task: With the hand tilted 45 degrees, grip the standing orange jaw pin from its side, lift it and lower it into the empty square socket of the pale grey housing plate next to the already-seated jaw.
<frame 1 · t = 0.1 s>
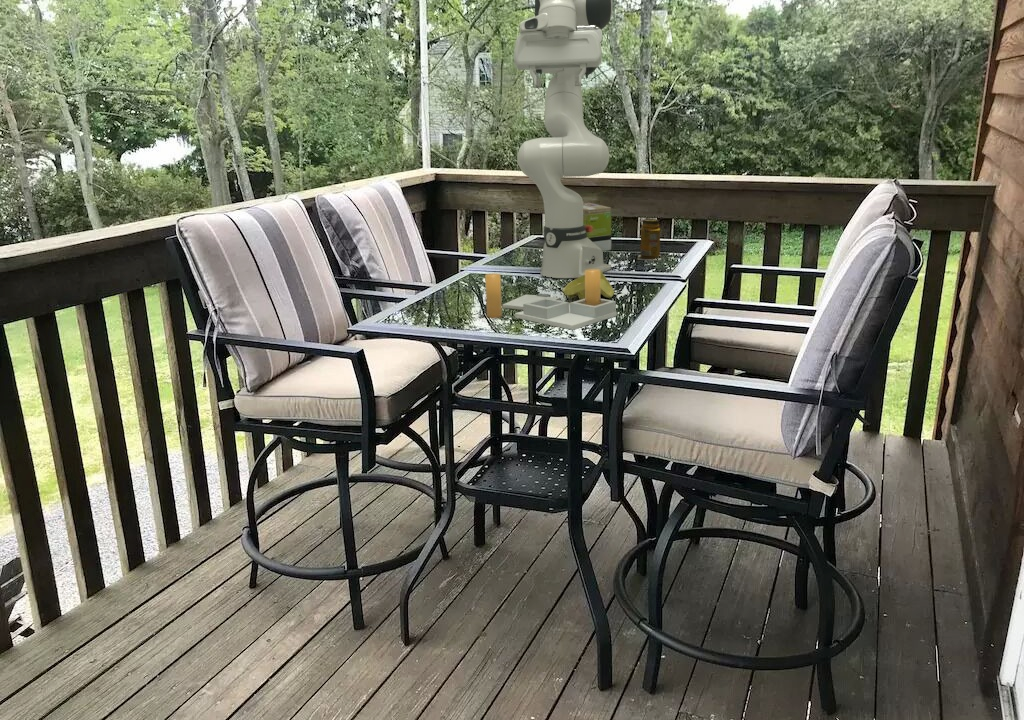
hand: (557, 86, 189), 52 cm above the table, tool tilted 20°, fingers open, 8 cm apart
tea box: (588, 249, 280), on the table
plastic component: (586, 300, 210), on the table
lid: (531, 304, 206), on the table
condiment: (649, 258, 260), on the table
jaw pin: (494, 315, 196), on the table
housing: (565, 316, 193), on the table
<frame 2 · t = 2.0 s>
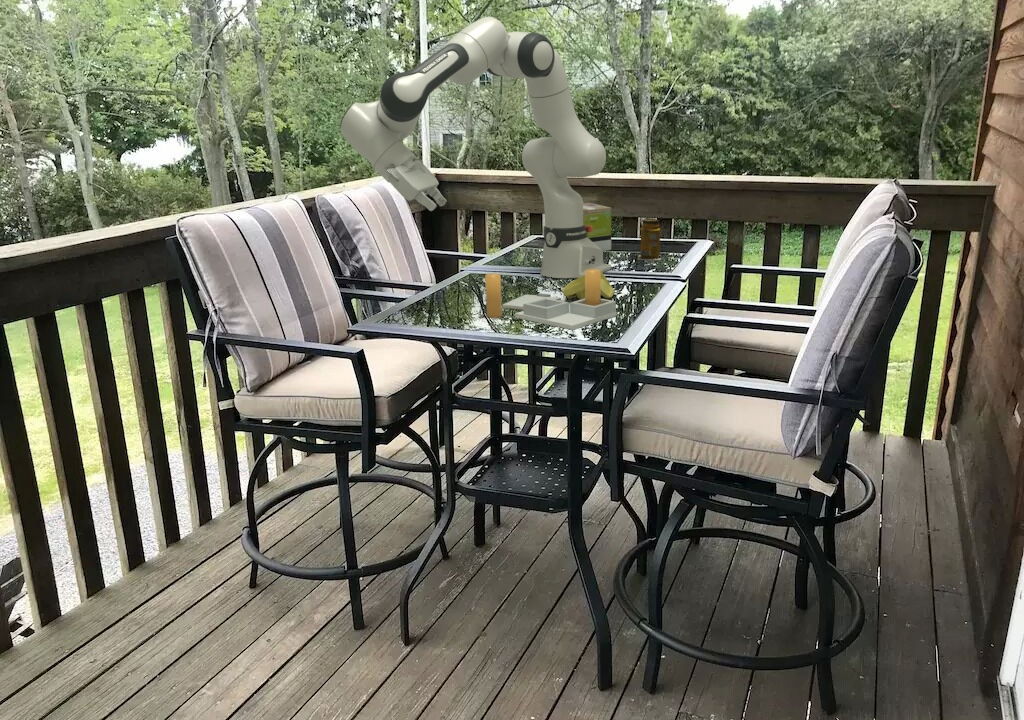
hand: (439, 206, 190), 26 cm above the table, tool tilted 45°, fingers open, 8 cm apart
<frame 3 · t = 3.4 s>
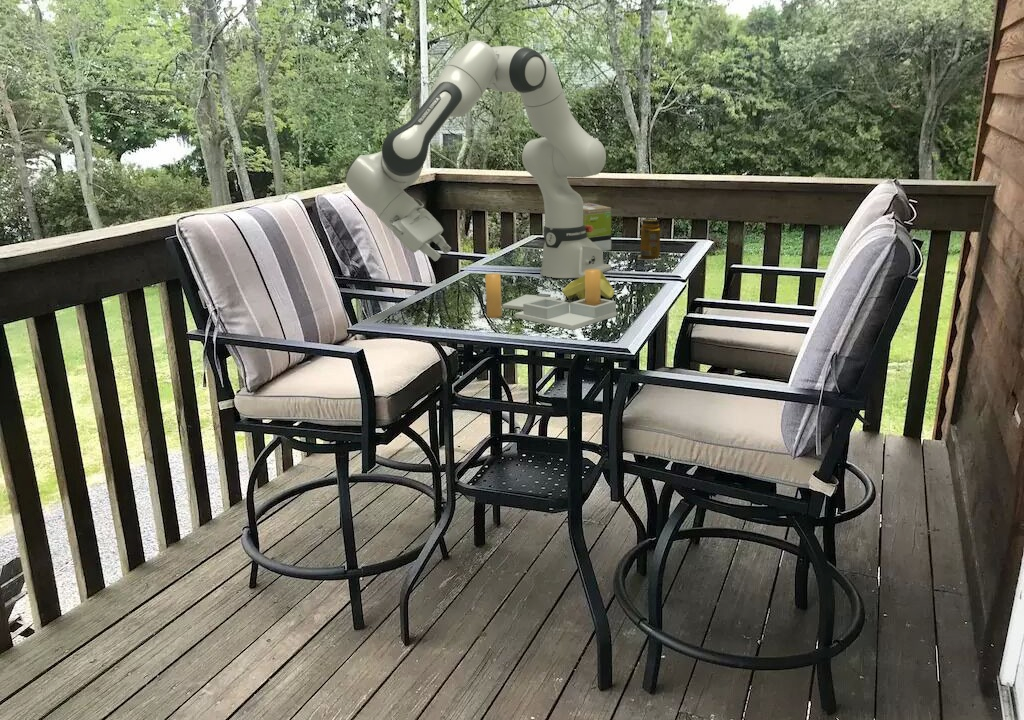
hand: (443, 255, 194), 15 cm above the table, tool tilted 45°, fingers open, 8 cm apart
nothing on the table moved.
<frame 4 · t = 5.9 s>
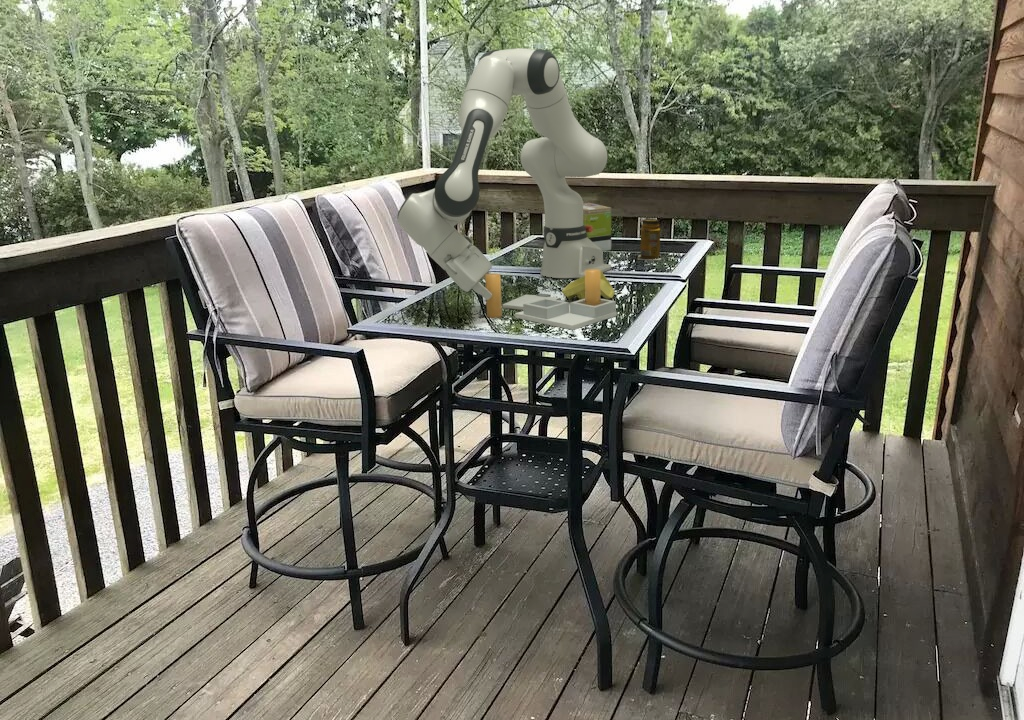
hand: (494, 292, 194), 6 cm above the table, tool tilted 45°, fingers open, 8 cm apart
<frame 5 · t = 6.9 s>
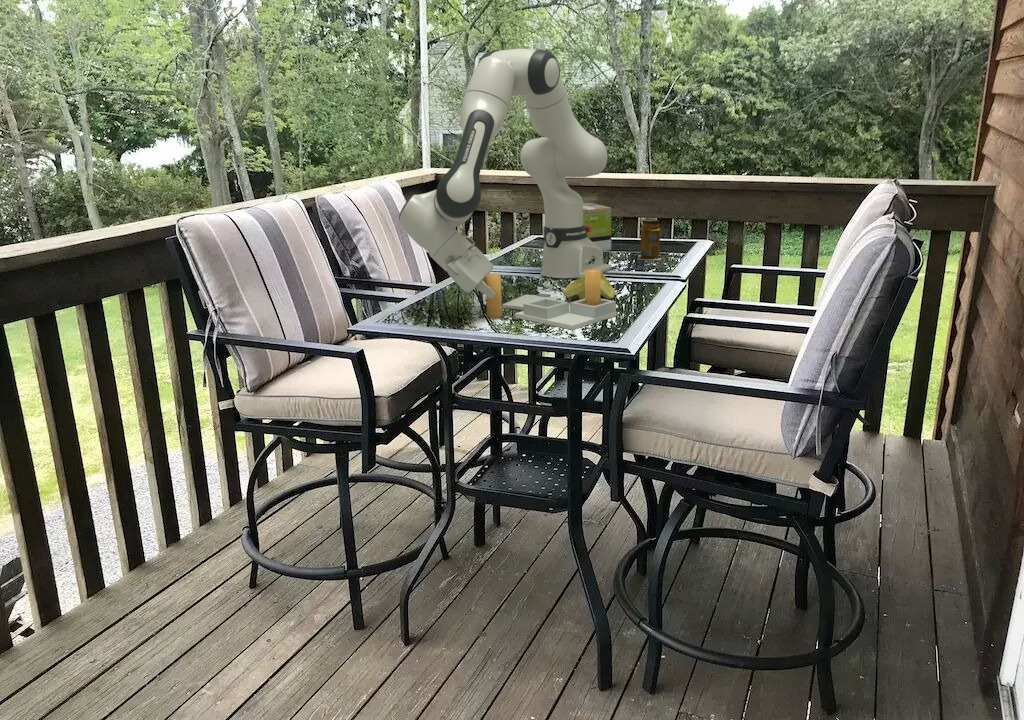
hand: (496, 294, 194), 5 cm above the table, tool tilted 45°, fingers closed on jaw pin, 4 cm apart
jaw pin: (494, 315, 196), on the table, touching gripper
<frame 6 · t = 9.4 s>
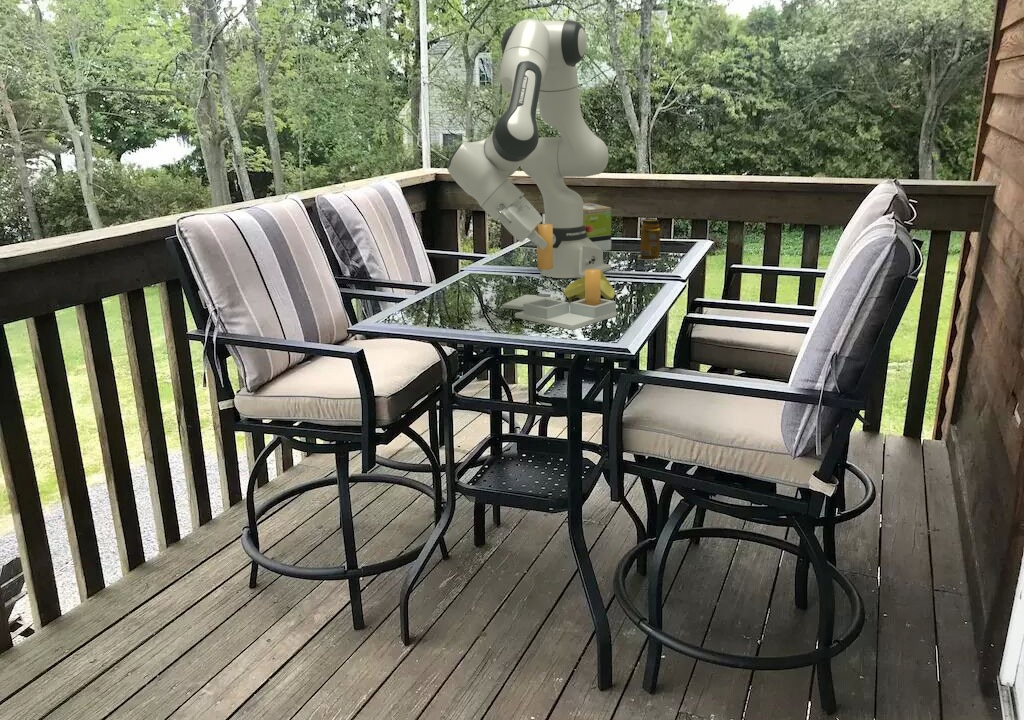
hand: (547, 245, 188), 17 cm above the table, tool tilted 45°, fingers closed on jaw pin, 4 cm apart
jaw pin: (545, 268, 189), point 12 cm above the table, touching gripper
when the fingers open (8 cm above the table, at t = 11.9 s): jaw pin drops 1 cm, resting on housing.
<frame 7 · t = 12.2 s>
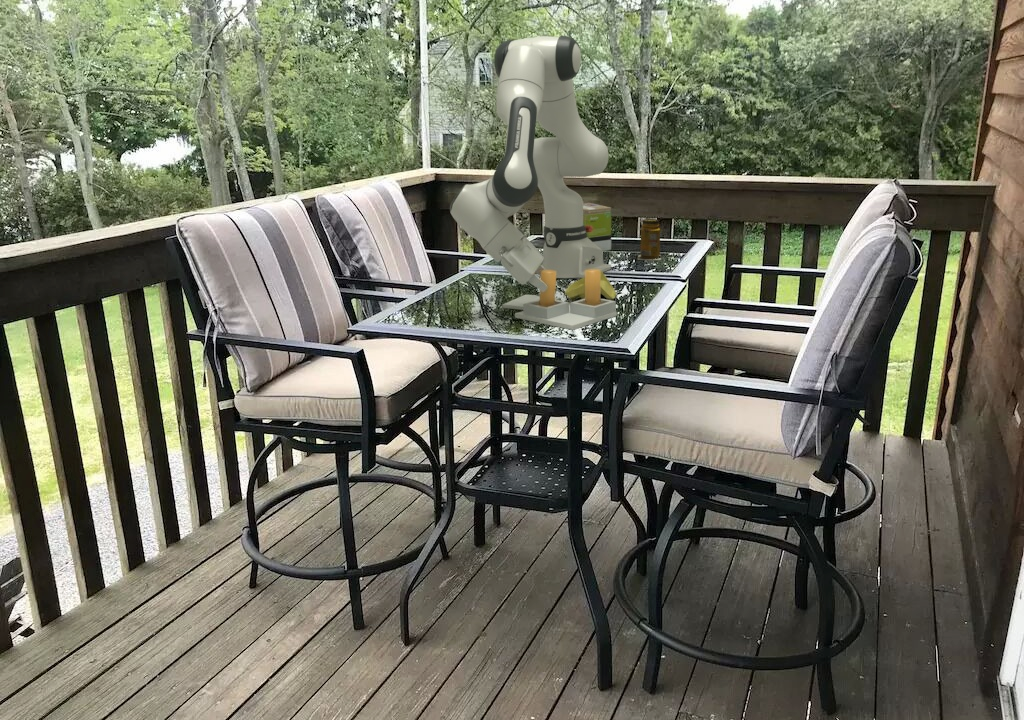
hand: (548, 285, 190), 8 cm above the table, tool tilted 45°, fingers open, 7 cm apart
jaw pin: (546, 312, 193), point 1 cm above the table, touching housing
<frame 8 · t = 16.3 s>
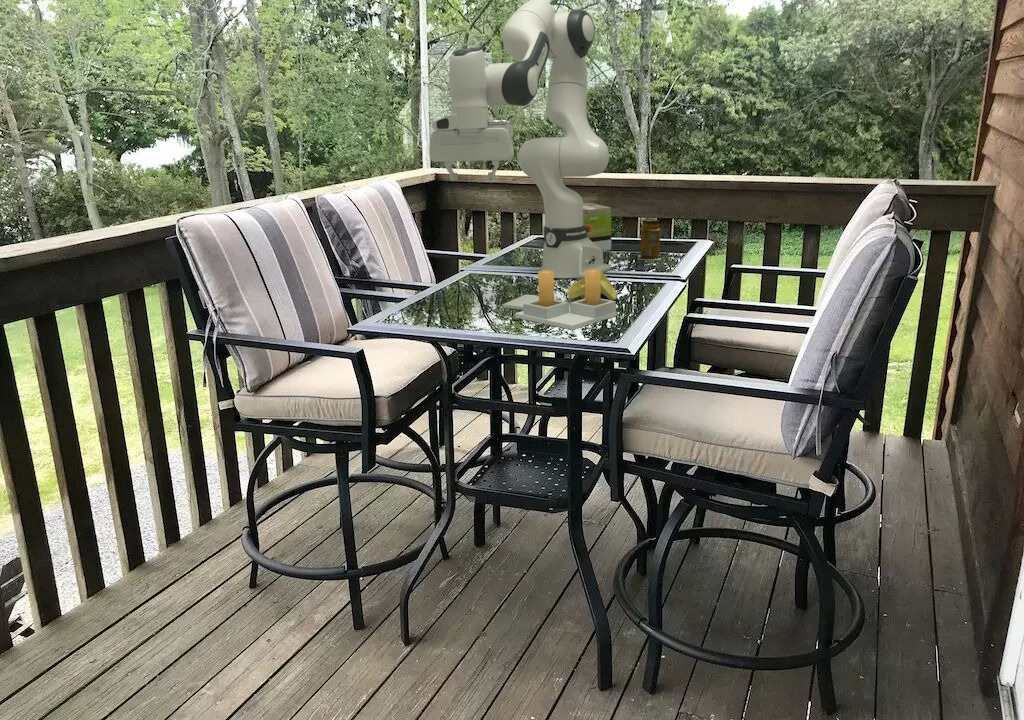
hand: (472, 180, 197), 31 cm above the table, tool pointing down, fingers open, 8 cm apart
at the end: jaw pin 0.1 cm from the target spot on the housing, point 1.1 cm above the housing's base; jaw pin tilted 2°; the gripper is holding nothing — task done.
